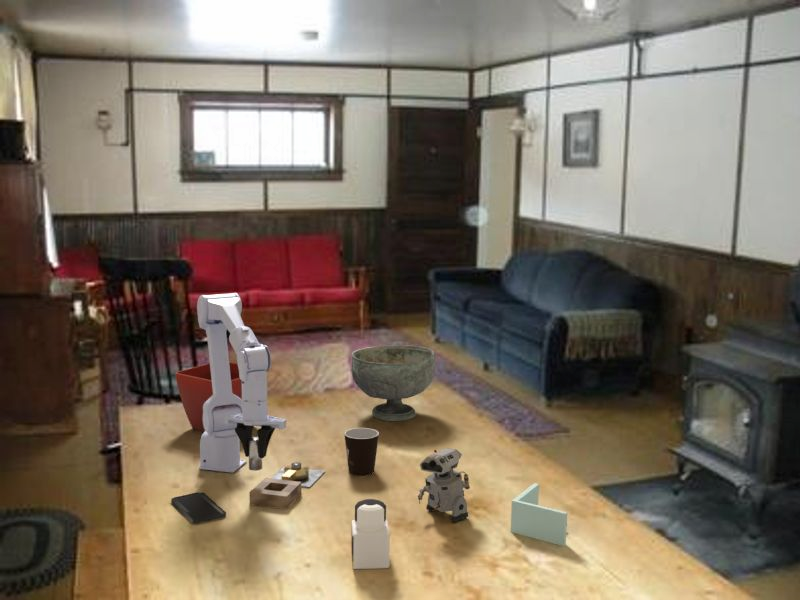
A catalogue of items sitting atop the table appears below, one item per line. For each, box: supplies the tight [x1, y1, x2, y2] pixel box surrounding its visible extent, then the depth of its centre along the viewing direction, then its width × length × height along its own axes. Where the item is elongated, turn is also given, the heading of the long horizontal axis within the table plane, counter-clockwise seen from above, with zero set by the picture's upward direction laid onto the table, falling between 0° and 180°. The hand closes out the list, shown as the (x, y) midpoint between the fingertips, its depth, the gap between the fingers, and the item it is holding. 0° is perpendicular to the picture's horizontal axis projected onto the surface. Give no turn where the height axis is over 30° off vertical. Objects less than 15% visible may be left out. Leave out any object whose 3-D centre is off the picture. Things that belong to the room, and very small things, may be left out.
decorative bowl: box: [350, 344, 436, 422], centre depth 261 cm, size 26×26×20 cm
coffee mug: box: [344, 427, 380, 477], centre depth 216 cm, size 12×9×10 cm
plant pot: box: [175, 361, 268, 432], centre depth 248 cm, size 19×19×17 cm
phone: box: [170, 491, 227, 525], centre depth 191 cm, size 8×1×15 cm
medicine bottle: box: [350, 498, 391, 570], centre depth 167 cm, size 7×7×12 cm
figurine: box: [417, 447, 471, 524], centre depth 187 cm, size 9×12×15 cm
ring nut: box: [282, 461, 310, 481], centre depth 208 cm, size 6×10×3 cm, turn 165°
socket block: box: [249, 477, 302, 510], centre depth 197 cm, size 9×9×3 cm
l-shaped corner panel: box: [510, 482, 568, 547], centre depth 183 cm, size 12×12×8 cm
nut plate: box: [270, 465, 326, 489], centre depth 211 cm, size 11×11×1 cm
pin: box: [248, 436, 263, 472], centre depth 197 cm, size 3×3×7 cm
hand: (255, 456), depth 197 cm, fingers closed on pin, 3 cm apart
